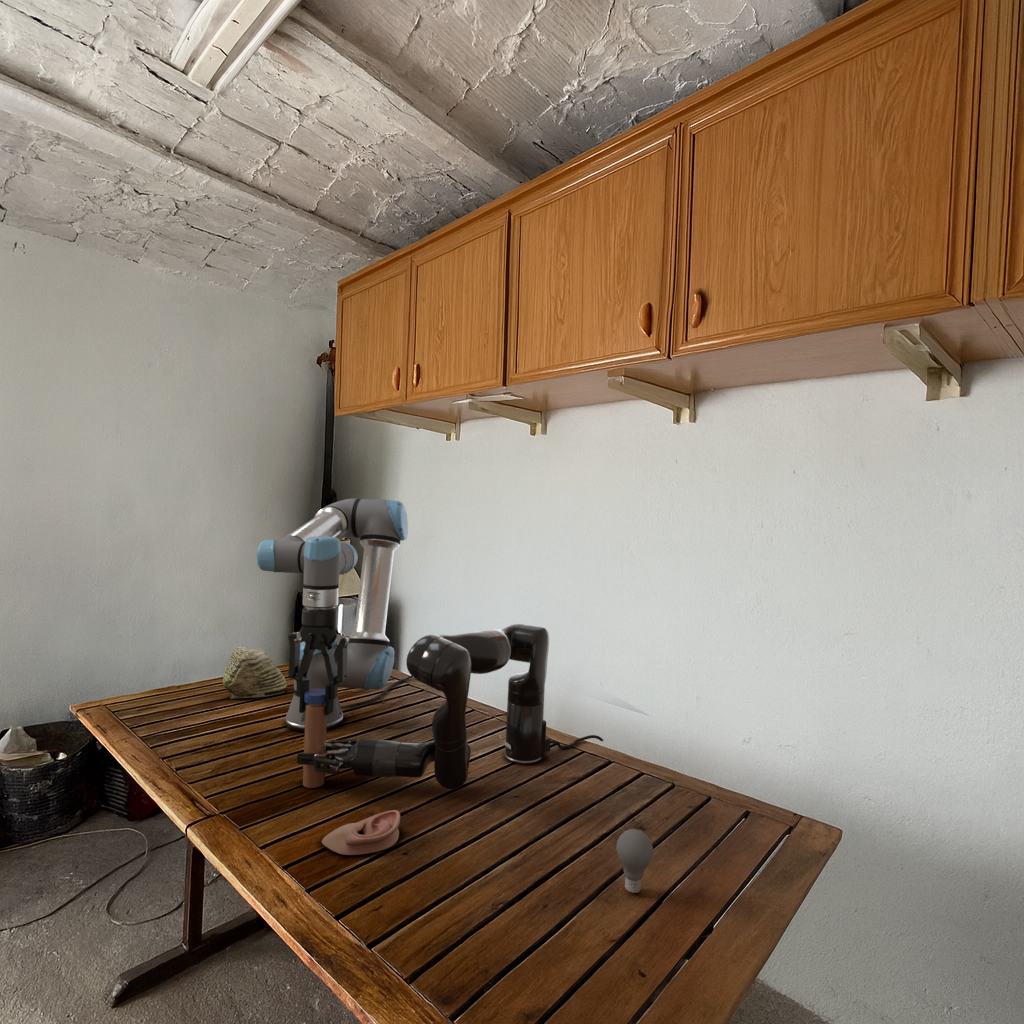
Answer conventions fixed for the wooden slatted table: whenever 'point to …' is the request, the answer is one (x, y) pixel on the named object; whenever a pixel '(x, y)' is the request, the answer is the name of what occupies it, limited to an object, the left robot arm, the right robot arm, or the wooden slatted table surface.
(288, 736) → the wooden slatted table surface
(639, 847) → the light bulb
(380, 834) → the anatomical model
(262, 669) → the fossil
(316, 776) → the brown tube
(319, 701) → the lid
